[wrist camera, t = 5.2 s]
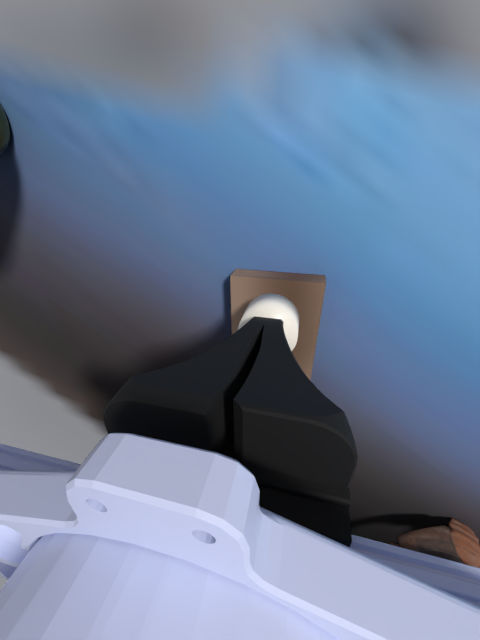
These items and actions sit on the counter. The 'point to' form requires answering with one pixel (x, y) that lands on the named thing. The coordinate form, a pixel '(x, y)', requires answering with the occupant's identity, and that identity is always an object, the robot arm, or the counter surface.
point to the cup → (4, 131)
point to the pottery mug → (444, 542)
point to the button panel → (294, 287)
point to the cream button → (275, 314)
